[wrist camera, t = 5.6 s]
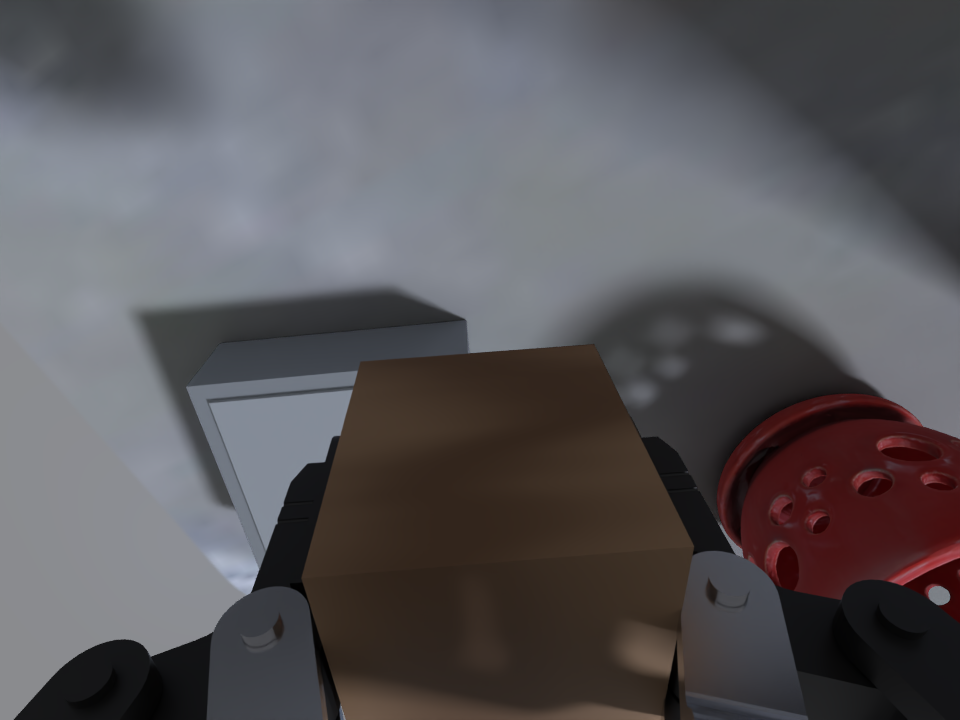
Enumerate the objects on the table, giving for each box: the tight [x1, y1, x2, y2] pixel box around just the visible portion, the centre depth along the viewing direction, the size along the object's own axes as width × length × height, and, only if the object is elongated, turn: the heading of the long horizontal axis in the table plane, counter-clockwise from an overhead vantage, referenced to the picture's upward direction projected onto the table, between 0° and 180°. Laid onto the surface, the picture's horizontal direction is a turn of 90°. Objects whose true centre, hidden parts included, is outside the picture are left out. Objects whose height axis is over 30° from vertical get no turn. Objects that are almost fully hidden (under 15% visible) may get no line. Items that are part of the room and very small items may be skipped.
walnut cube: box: [301, 344, 694, 720], centre depth 10 cm, size 4×4×5 cm
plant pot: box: [717, 394, 960, 623], centre depth 27 cm, size 13×13×12 cm
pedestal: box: [186, 320, 470, 569], centre depth 28 cm, size 12×12×4 cm
